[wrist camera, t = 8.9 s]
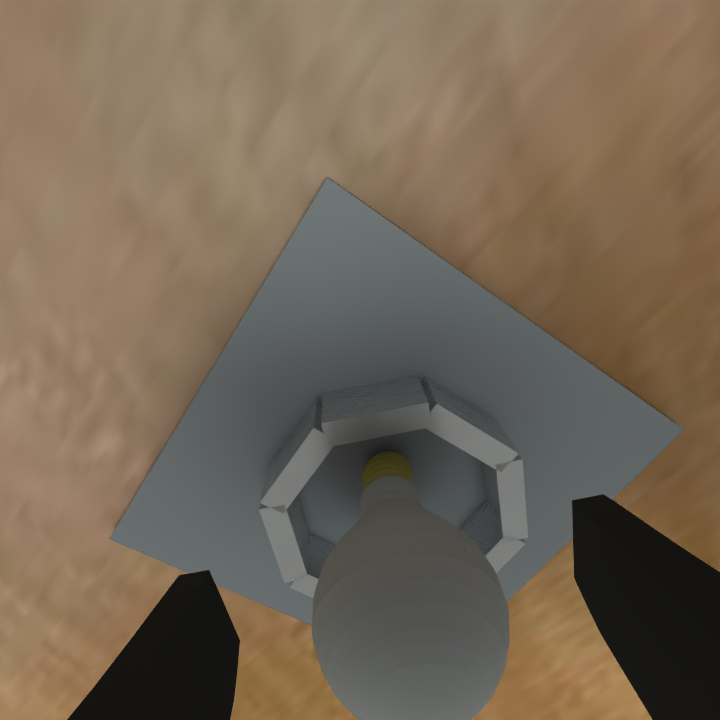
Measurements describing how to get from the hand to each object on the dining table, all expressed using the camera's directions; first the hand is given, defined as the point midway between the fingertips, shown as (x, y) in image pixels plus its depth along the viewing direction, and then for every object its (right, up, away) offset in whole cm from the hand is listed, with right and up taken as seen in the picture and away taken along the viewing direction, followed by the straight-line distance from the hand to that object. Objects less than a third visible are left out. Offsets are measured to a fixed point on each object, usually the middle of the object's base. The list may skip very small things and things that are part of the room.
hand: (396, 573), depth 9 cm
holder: (+1, -1, +12) cm, 12 cm away
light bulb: (0, 0, +11) cm, 11 cm away
